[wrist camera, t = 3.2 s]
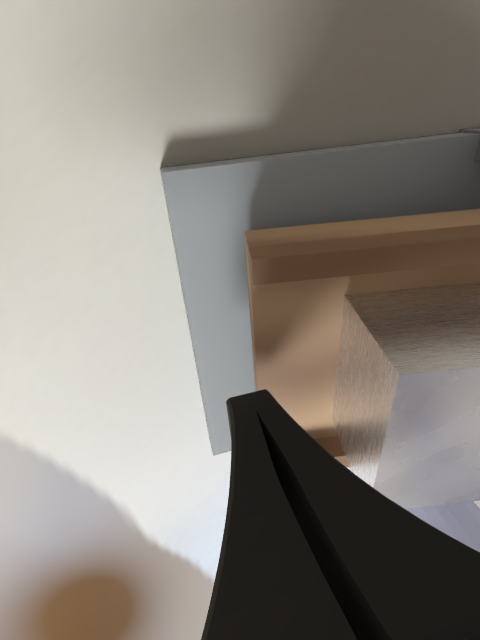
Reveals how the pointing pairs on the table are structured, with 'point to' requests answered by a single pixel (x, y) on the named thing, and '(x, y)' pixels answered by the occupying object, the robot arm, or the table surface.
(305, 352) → the beam
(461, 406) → the block
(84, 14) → the table surface
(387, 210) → the pivot stand
